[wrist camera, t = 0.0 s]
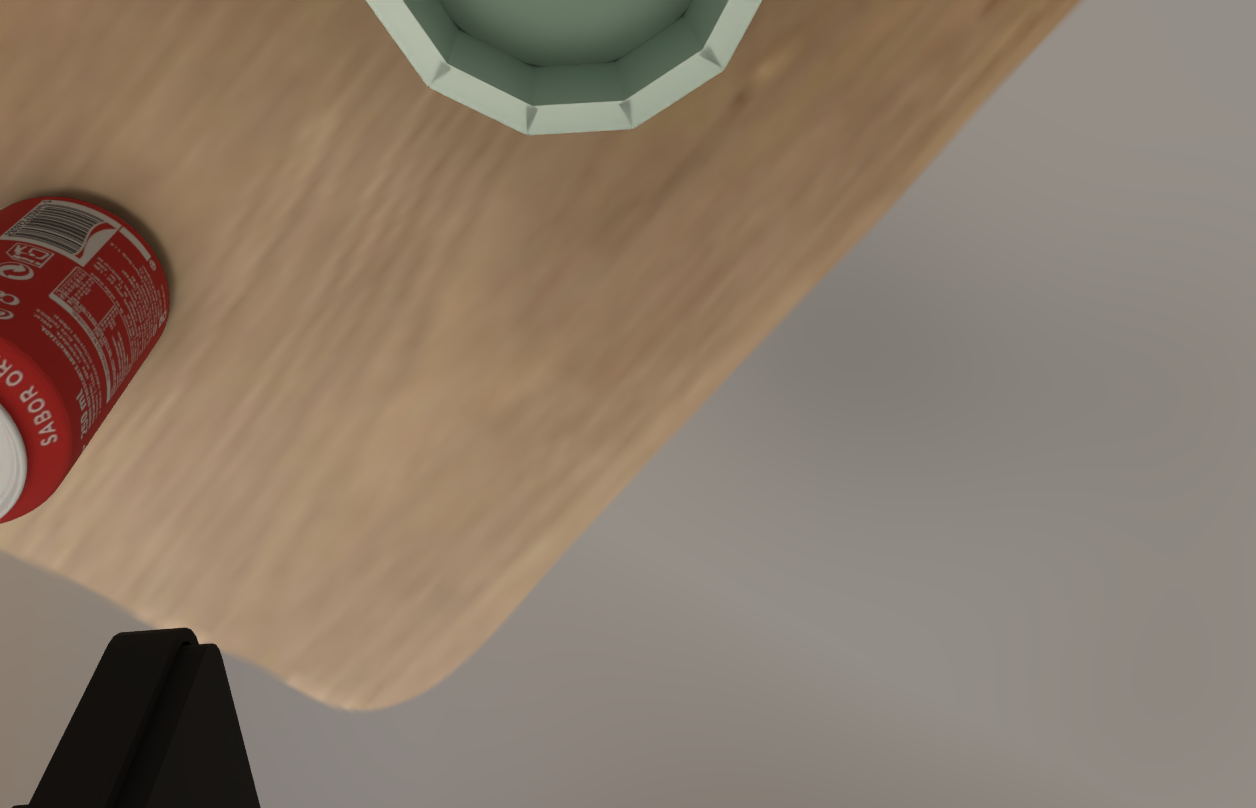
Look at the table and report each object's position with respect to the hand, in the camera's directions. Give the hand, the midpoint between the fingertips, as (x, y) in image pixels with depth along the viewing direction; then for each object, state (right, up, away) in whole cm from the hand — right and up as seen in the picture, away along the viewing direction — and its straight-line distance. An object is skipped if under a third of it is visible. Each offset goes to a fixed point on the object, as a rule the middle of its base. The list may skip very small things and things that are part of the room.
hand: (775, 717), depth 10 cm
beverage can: (-20, +7, +30) cm, 37 cm away
